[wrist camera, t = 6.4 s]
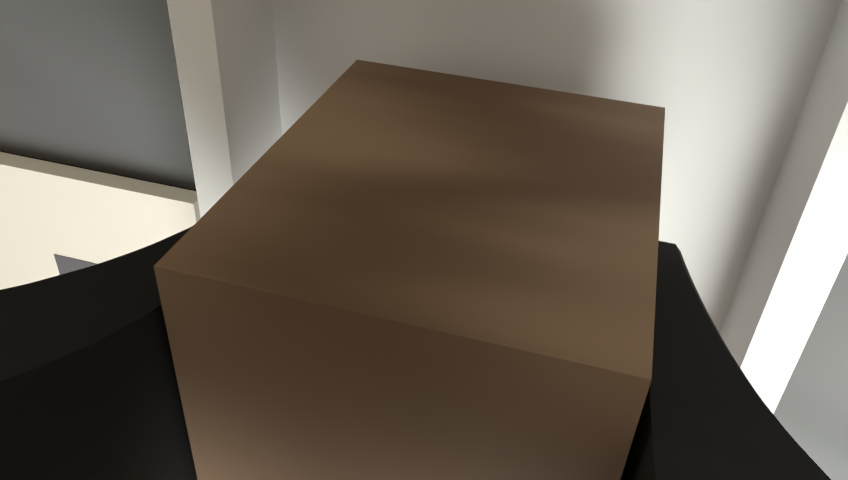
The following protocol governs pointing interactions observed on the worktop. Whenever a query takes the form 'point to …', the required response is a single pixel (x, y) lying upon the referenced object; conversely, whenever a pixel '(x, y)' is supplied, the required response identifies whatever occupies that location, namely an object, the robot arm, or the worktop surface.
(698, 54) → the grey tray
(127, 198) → the letter board
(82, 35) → the worktop surface
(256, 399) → the walnut block
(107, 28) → the worktop surface
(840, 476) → the worktop surface
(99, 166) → the worktop surface
